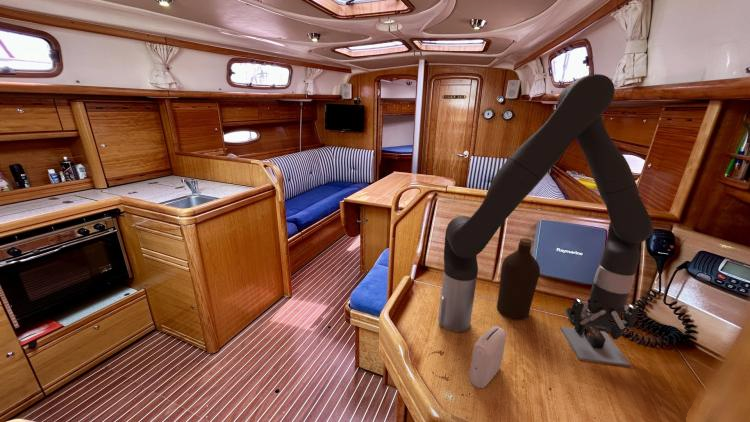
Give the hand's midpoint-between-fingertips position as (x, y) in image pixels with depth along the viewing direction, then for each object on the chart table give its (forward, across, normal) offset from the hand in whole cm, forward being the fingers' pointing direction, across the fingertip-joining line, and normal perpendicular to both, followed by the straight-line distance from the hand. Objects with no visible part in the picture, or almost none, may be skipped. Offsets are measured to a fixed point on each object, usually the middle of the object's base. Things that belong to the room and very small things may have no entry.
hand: (595, 335), depth 82 cm
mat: (+4, 0, 0) cm, 4 cm away
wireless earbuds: (+3, 0, -2) cm, 4 cm away
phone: (+4, -6, -11) cm, 13 cm away
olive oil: (+4, +18, -12) cm, 22 cm away
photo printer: (+4, +31, +15) cm, 35 cm away
